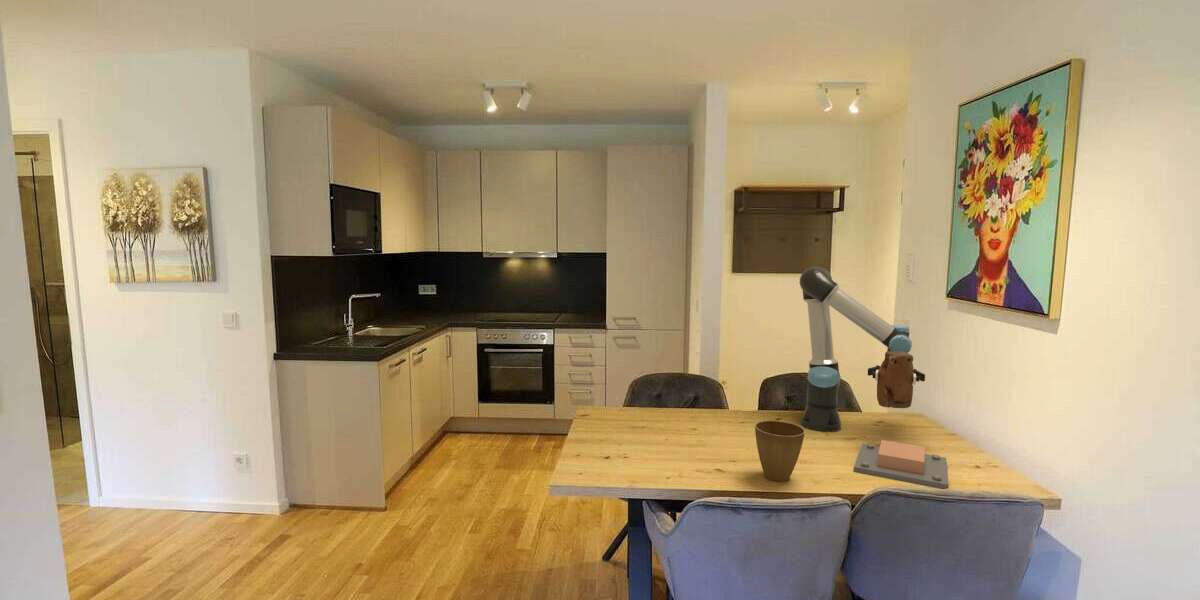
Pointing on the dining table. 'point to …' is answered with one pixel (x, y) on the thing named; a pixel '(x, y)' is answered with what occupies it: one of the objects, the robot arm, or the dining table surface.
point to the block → (895, 380)
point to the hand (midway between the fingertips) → (895, 378)
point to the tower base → (903, 474)
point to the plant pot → (778, 448)
